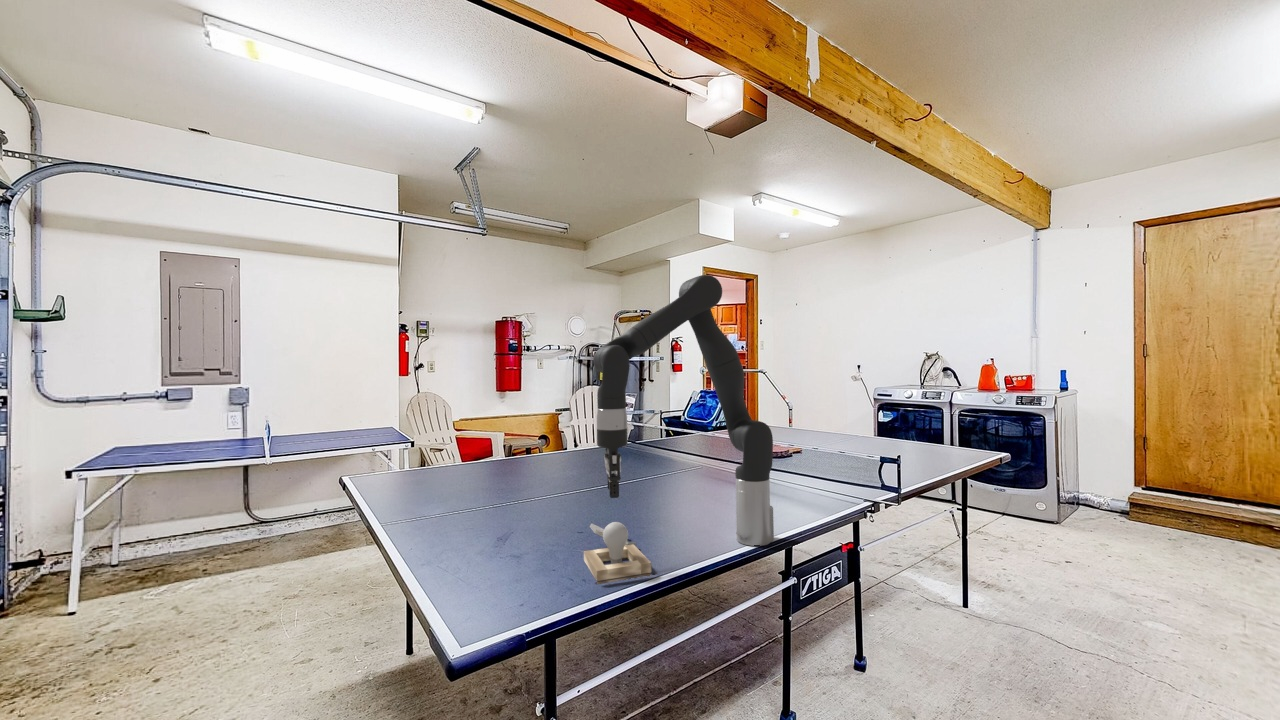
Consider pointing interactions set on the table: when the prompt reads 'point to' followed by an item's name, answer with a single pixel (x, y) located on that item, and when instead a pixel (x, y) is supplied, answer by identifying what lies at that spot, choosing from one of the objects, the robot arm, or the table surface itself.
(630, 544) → the keeper bracket
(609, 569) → the socket
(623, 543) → the lightbulb
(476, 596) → the table surface
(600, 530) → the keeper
